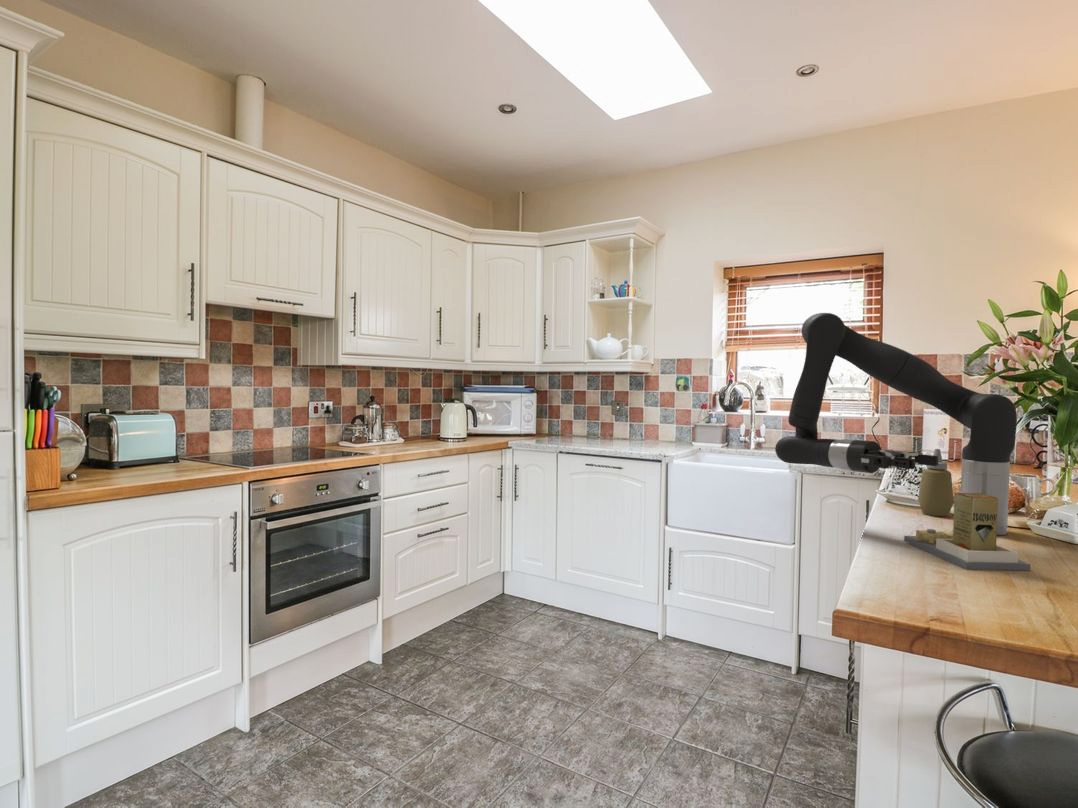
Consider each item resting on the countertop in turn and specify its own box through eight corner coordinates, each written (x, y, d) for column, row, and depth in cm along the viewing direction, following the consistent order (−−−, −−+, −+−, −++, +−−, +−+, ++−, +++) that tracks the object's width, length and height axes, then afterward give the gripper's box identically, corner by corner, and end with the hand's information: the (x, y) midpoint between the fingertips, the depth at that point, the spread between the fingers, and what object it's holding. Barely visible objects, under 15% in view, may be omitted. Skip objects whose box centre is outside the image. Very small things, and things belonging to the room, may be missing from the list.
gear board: (904, 541, 131) (904, 525, 131) (959, 542, 131) (960, 526, 130) (965, 569, 111) (966, 550, 111) (1031, 570, 111) (1032, 551, 110)
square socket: (935, 547, 121) (936, 538, 121) (982, 548, 121) (982, 539, 121) (967, 561, 112) (967, 551, 112) (1017, 562, 111) (1018, 552, 111)
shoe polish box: (952, 551, 119) (954, 493, 118) (976, 551, 119) (978, 493, 118) (970, 558, 114) (972, 497, 113) (995, 558, 114) (997, 497, 113)
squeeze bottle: (926, 517, 156) (928, 450, 155) (912, 510, 164) (914, 447, 163) (959, 518, 154) (962, 451, 154) (943, 512, 162) (945, 447, 162)
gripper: (835, 441, 136) (906, 447, 121) (873, 438, 142) (944, 443, 128) (835, 473, 136) (906, 483, 121) (873, 468, 142) (944, 477, 128)
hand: (926, 462), depth 125 cm, fingers open, 8 cm apart
